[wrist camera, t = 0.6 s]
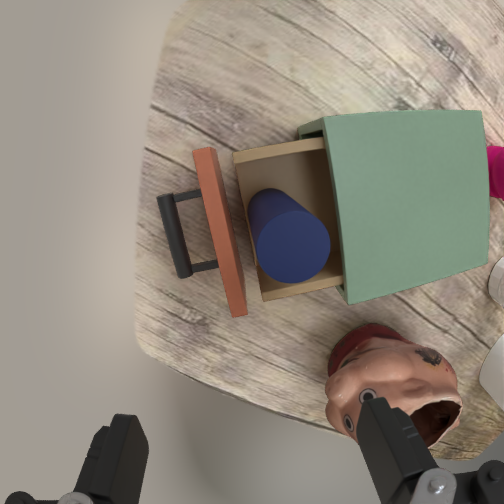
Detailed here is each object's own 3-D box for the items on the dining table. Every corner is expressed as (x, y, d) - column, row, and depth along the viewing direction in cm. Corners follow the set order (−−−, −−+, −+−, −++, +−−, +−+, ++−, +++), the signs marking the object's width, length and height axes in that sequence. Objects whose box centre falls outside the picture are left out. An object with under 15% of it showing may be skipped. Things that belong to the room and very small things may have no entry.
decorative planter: (450, 331, 35) (510, 391, 22) (405, 399, 38) (445, 467, 25) (329, 292, 32) (383, 377, 19) (283, 380, 35) (303, 475, 22)
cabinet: (319, 266, 31) (348, 305, 23) (297, 127, 27) (323, 116, 18) (439, 238, 31) (487, 263, 23) (428, 115, 27) (481, 110, 18)
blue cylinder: (243, 193, 26) (249, 219, 16) (289, 184, 26) (325, 204, 16) (252, 238, 28) (263, 290, 17) (297, 228, 27) (334, 275, 17)
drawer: (190, 290, 30) (180, 327, 23) (157, 163, 26) (134, 166, 20) (367, 253, 30) (398, 279, 23) (350, 126, 26) (383, 120, 19)
